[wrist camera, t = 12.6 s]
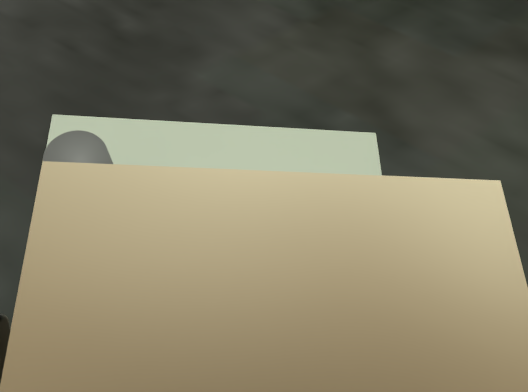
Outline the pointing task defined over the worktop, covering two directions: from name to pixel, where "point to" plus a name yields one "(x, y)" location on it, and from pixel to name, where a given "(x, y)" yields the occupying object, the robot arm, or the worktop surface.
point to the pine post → (266, 284)
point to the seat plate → (210, 146)
